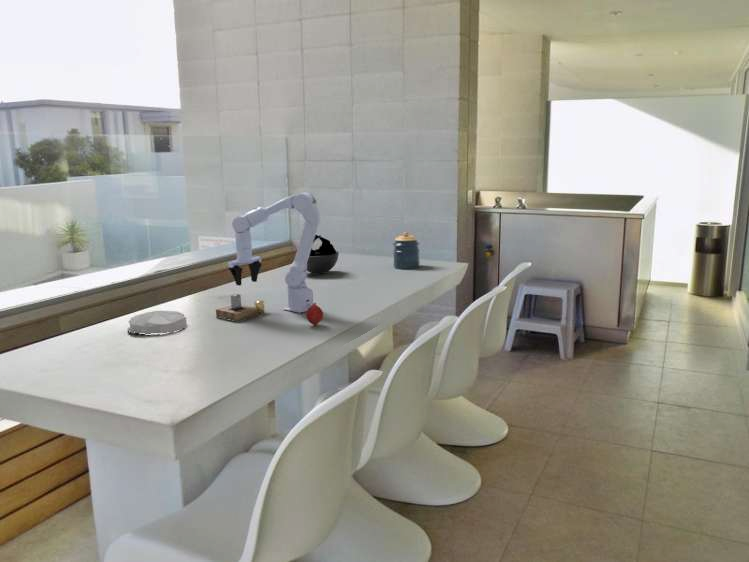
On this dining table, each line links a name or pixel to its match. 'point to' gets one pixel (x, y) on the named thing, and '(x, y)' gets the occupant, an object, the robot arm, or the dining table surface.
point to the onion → (314, 314)
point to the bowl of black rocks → (322, 257)
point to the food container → (157, 322)
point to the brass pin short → (260, 306)
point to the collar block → (237, 313)
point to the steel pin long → (236, 302)
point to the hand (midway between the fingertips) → (246, 283)
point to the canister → (406, 252)
